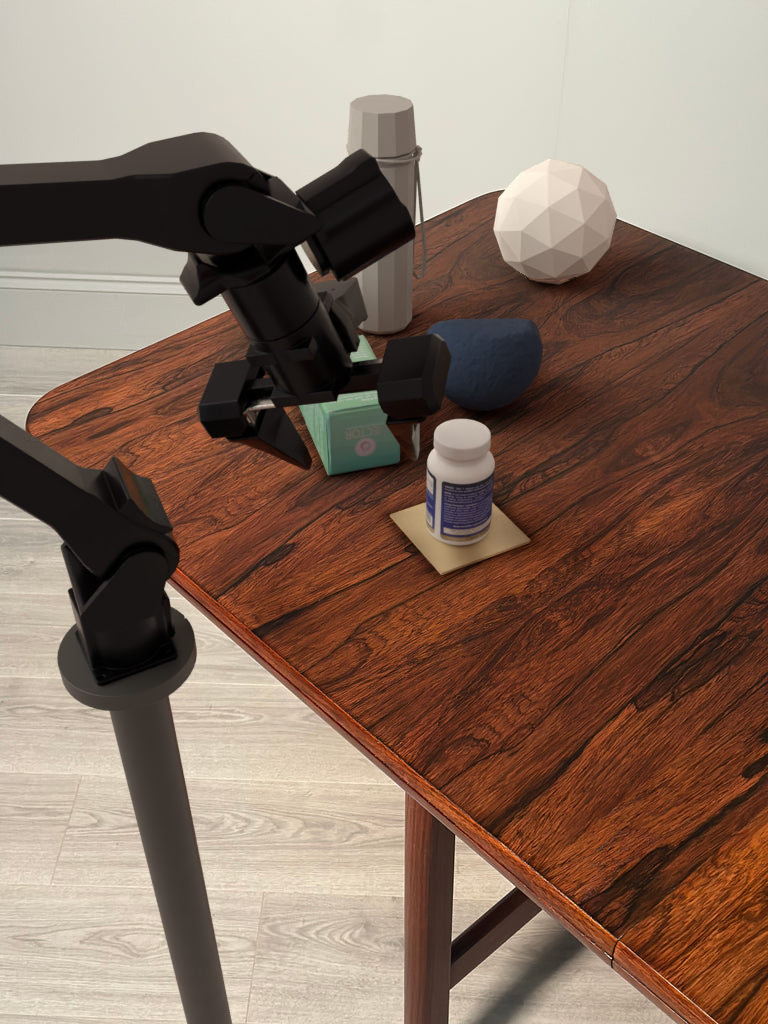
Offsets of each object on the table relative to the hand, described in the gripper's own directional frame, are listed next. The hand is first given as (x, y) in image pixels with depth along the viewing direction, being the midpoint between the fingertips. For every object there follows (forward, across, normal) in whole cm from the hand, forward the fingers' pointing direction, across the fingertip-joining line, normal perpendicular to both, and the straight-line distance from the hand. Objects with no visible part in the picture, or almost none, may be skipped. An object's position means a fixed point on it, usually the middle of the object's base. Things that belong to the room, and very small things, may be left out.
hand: (361, 461), depth 82 cm
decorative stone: (+19, -1, -24) cm, 30 cm away
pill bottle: (+13, -4, -3) cm, 14 cm away
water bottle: (+19, +12, -38) cm, 45 cm away
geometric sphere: (+28, -3, -54) cm, 61 cm away
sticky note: (+13, -4, -3) cm, 14 cm away
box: (+13, +10, -15) cm, 22 cm away
